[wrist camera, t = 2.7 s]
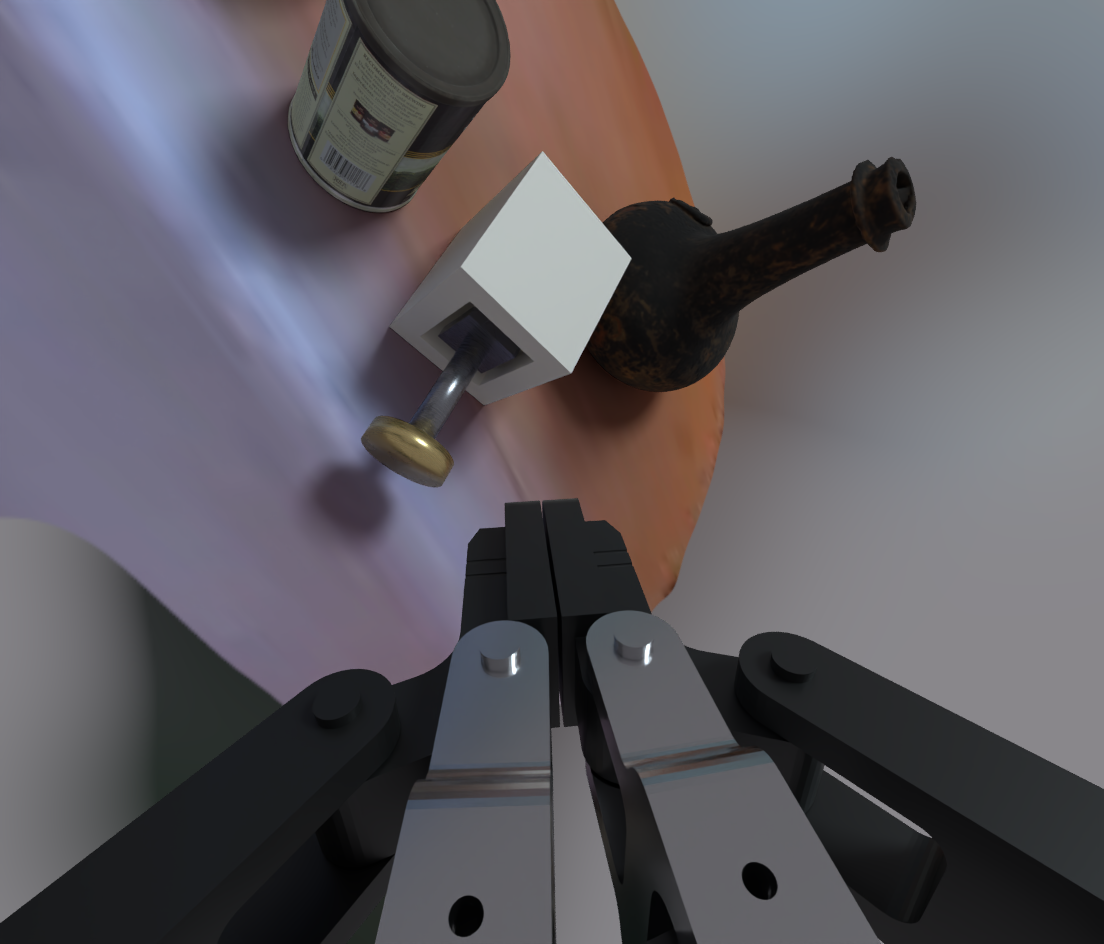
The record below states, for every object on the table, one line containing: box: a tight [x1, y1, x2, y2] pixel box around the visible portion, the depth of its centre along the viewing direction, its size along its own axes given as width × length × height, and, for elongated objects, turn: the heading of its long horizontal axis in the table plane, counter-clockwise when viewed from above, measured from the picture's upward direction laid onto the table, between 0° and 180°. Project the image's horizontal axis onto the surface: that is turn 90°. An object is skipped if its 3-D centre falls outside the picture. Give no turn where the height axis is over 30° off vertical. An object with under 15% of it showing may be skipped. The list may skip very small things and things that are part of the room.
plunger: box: [361, 306, 520, 487], centre depth 38 cm, size 12×6×6 cm, turn 150°
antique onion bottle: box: [586, 157, 916, 392], centre depth 46 cm, size 18×18×28 cm
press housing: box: [389, 151, 632, 406], centre depth 42 cm, size 12×10×12 cm
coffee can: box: [288, 0, 510, 212], centre depth 36 cm, size 10×10×14 cm
